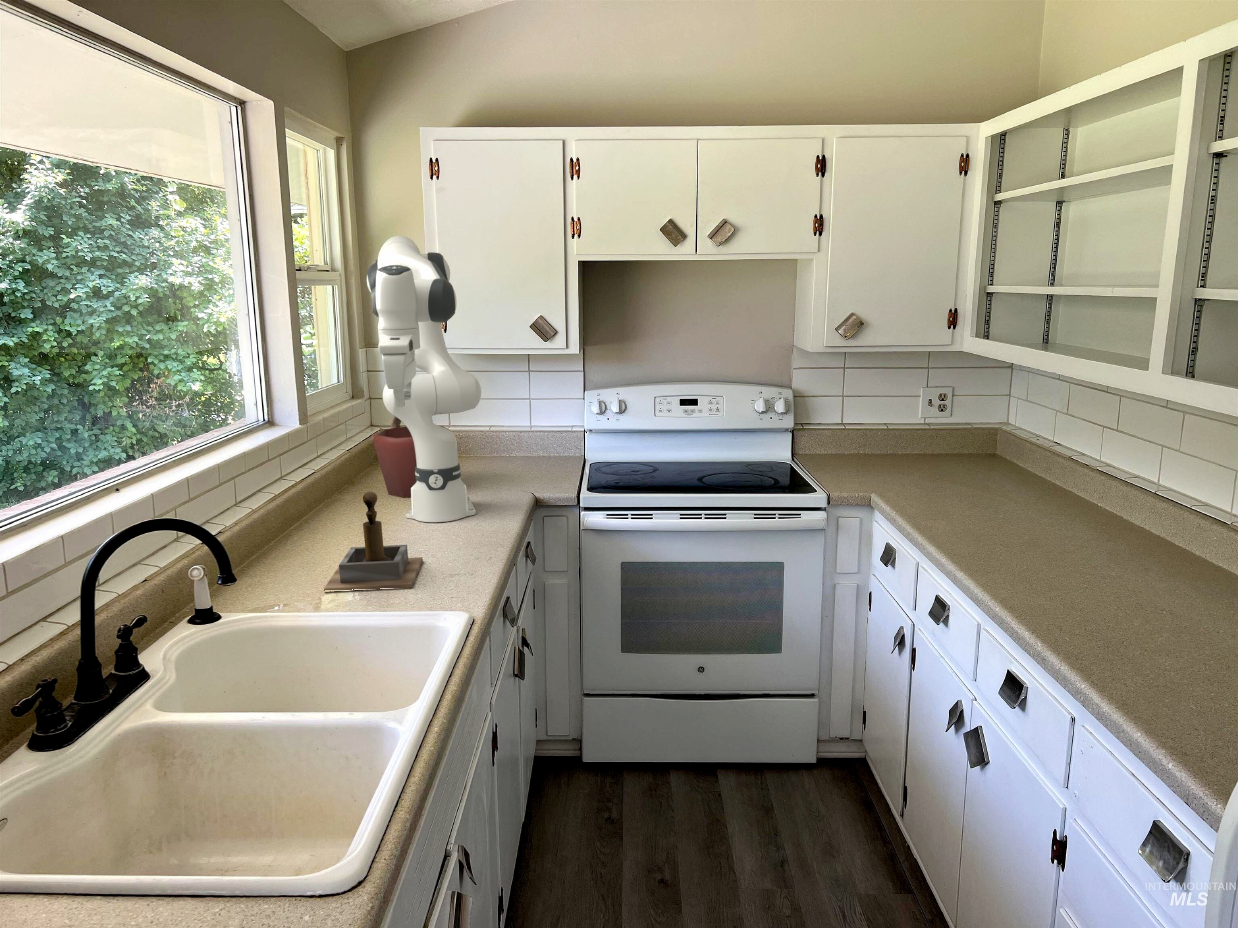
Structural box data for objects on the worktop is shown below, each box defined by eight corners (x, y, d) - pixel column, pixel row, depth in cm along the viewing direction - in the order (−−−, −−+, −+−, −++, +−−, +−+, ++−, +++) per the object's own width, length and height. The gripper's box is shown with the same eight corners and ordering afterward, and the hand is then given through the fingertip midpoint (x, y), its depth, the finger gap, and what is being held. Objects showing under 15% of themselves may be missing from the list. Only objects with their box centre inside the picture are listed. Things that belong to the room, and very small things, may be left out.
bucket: (461, 495, 263) (456, 412, 257) (386, 505, 253) (379, 419, 248) (440, 479, 284) (435, 402, 279) (371, 487, 275) (364, 408, 270)
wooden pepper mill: (380, 564, 198) (373, 487, 194) (398, 570, 194) (391, 490, 190) (354, 572, 192) (347, 493, 189) (372, 578, 188) (365, 497, 185)
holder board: (342, 565, 201) (341, 544, 200) (422, 561, 202) (421, 540, 201) (324, 592, 183) (321, 570, 182) (411, 588, 185) (410, 565, 184)
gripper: (392, 336, 203) (397, 395, 207) (376, 346, 184) (381, 411, 187) (420, 335, 204) (424, 394, 207) (407, 346, 184) (411, 411, 188)
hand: (404, 403), depth 197 cm, fingers open, 8 cm apart
